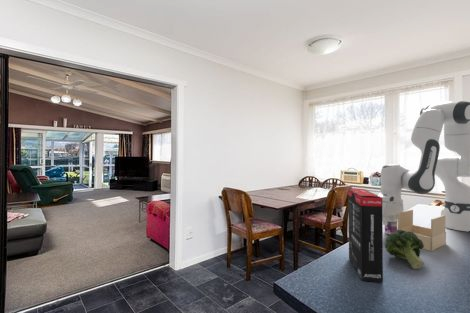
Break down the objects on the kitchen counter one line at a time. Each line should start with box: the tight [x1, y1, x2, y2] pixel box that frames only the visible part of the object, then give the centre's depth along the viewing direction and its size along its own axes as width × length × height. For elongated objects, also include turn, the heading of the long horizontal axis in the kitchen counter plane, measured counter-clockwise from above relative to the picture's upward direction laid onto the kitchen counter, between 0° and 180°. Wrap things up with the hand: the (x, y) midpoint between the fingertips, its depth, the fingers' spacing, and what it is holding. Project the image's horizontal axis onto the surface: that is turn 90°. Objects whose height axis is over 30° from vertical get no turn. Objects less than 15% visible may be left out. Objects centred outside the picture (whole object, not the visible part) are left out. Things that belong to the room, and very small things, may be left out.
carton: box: [397, 209, 447, 252], centre depth 110 cm, size 15×13×13 cm
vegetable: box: [384, 230, 425, 270], centre depth 91 cm, size 12×13×15 cm
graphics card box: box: [347, 188, 384, 283], centre depth 84 cm, size 17×7×27 cm, turn 168°
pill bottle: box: [384, 215, 398, 235], centre depth 123 cm, size 5×5×10 cm
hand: (390, 223), depth 123 cm, fingers open, 8 cm apart
